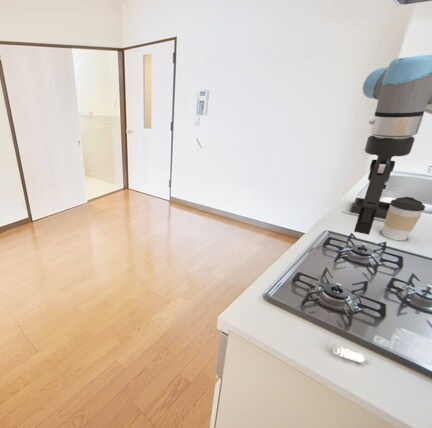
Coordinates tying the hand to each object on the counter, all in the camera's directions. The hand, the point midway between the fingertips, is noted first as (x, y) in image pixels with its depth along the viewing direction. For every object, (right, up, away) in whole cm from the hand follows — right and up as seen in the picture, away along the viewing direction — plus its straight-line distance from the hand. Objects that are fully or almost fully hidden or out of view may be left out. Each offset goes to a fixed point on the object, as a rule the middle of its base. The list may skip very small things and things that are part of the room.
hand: (364, 221), depth 70 cm
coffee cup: (+45, -7, +37) cm, 59 cm away
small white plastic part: (-11, -31, -8) cm, 33 cm away
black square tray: (+55, +3, +57) cm, 80 cm away
